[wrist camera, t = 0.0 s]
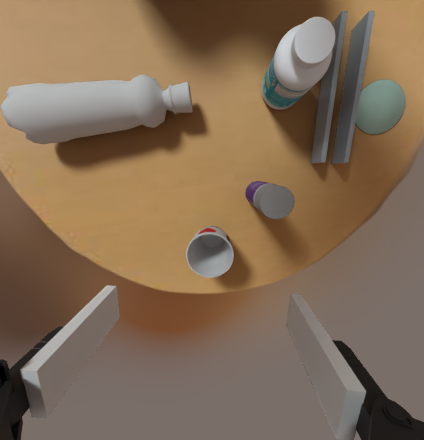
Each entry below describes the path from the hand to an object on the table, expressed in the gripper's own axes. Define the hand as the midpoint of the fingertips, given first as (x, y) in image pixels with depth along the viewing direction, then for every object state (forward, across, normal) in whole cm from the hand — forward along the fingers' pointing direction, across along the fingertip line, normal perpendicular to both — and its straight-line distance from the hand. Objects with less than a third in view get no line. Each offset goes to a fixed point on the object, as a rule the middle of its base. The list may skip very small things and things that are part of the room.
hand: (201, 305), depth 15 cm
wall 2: (+28, +19, +23) cm, 41 cm away
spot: (+28, +30, +22) cm, 46 cm away
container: (+28, +9, +6) cm, 30 cm away
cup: (+28, 0, -4) cm, 28 cm away
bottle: (+28, -19, +20) cm, 40 cm away
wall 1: (+28, +23, +23) cm, 43 cm away
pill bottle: (+28, +12, +25) cm, 40 cm away
